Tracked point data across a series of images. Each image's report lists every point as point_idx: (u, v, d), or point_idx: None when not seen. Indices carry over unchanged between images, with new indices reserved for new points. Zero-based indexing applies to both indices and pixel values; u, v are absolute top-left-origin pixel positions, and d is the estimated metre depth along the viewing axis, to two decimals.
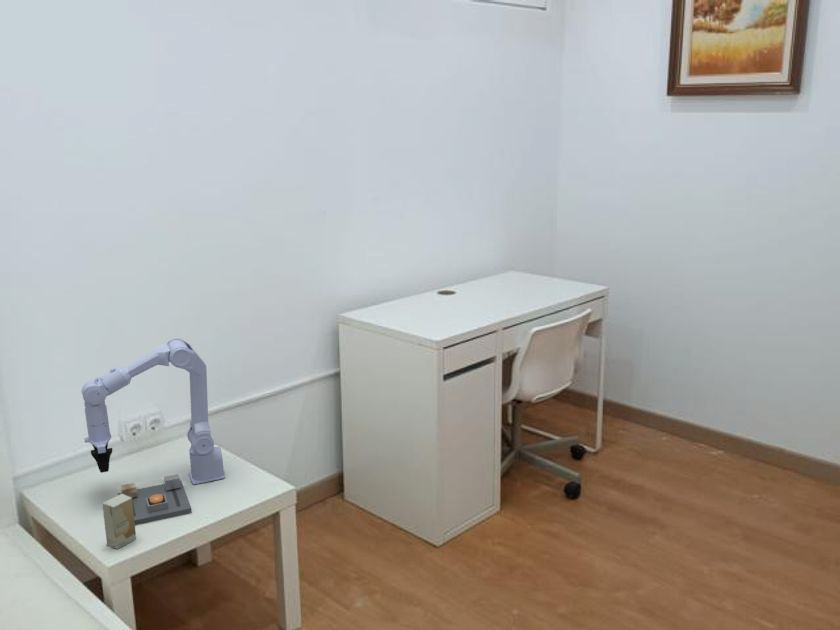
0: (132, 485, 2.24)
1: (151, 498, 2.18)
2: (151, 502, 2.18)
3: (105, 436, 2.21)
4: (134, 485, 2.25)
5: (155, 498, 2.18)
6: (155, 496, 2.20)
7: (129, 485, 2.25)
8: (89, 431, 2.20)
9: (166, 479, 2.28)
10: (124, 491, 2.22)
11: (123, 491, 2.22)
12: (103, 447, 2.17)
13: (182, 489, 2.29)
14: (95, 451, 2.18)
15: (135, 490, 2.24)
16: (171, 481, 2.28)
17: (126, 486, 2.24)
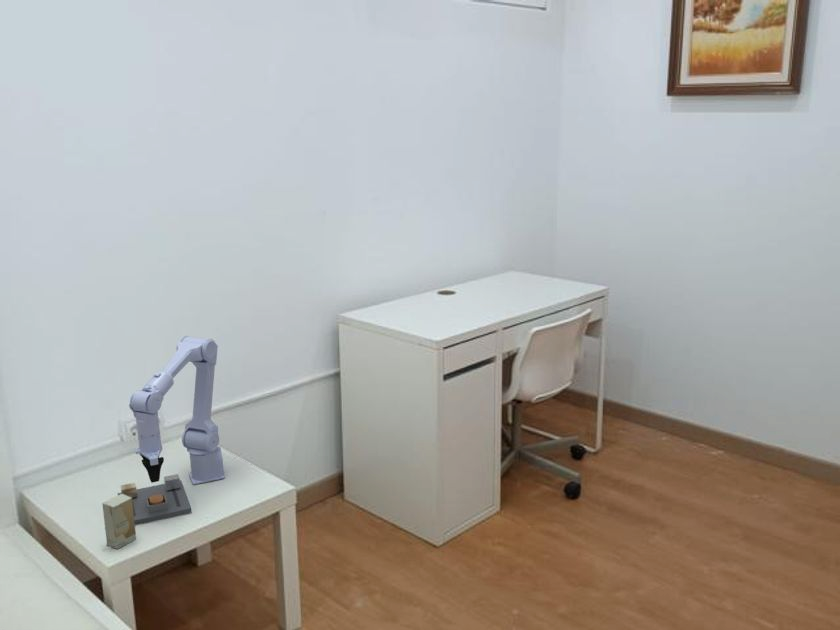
0: (132, 485, 2.24)
1: (151, 498, 2.18)
2: (151, 502, 2.18)
3: (157, 447, 2.13)
4: (134, 485, 2.25)
5: (155, 498, 2.18)
6: (155, 496, 2.20)
7: (129, 485, 2.25)
8: (140, 442, 2.12)
9: (166, 479, 2.28)
10: (124, 491, 2.22)
11: (123, 491, 2.22)
12: (156, 459, 2.09)
13: (182, 489, 2.29)
14: (146, 460, 2.12)
15: (135, 490, 2.24)
16: (171, 481, 2.28)
17: (126, 486, 2.24)
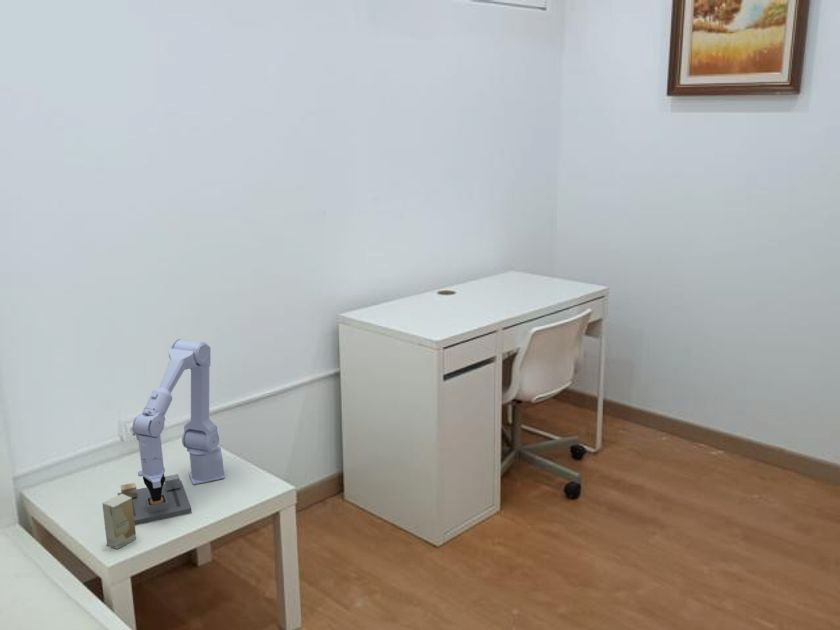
0: (132, 485, 2.24)
1: (151, 500, 2.19)
2: (151, 504, 2.18)
3: (160, 470, 2.15)
4: (134, 485, 2.25)
5: None
6: None
7: (129, 485, 2.25)
8: (143, 465, 2.14)
9: (166, 479, 2.28)
10: (124, 491, 2.22)
11: (123, 491, 2.22)
12: (158, 482, 2.11)
13: (182, 489, 2.29)
14: (148, 480, 2.15)
15: (135, 490, 2.24)
16: (171, 481, 2.28)
17: (126, 486, 2.24)
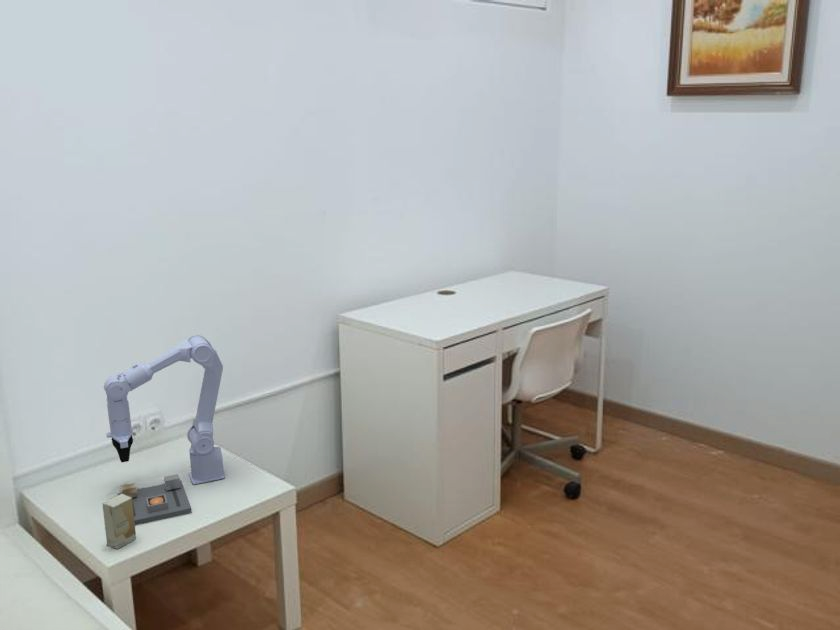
0: (132, 485, 2.24)
1: (151, 501, 2.19)
2: None
3: (127, 431, 2.23)
4: (134, 485, 2.25)
5: (155, 501, 2.19)
6: (155, 499, 2.20)
7: (129, 485, 2.25)
8: (111, 426, 2.22)
9: (166, 479, 2.28)
10: (124, 491, 2.22)
11: (123, 491, 2.22)
12: (126, 442, 2.19)
13: (182, 489, 2.29)
14: (116, 441, 2.24)
15: (135, 490, 2.24)
16: (171, 481, 2.28)
17: (126, 486, 2.24)
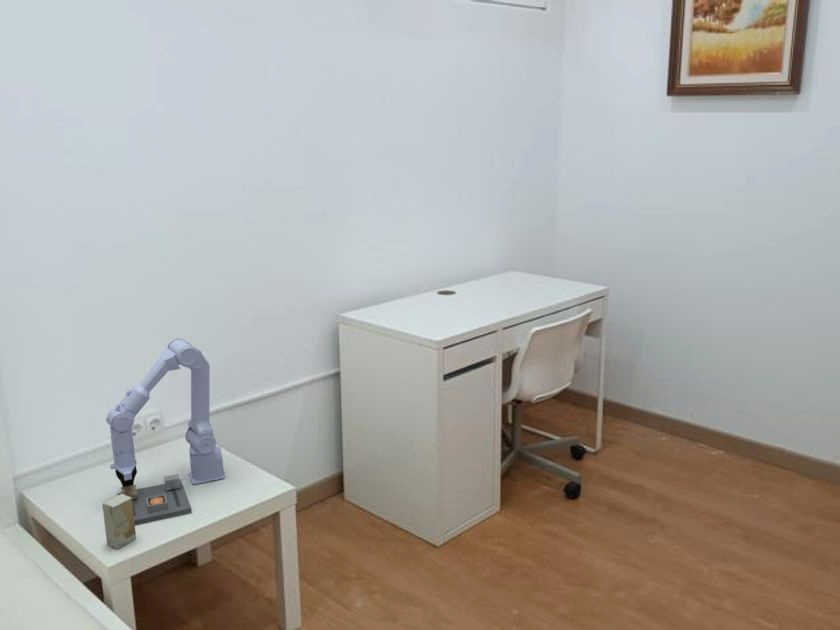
0: (133, 487, 2.23)
1: (151, 501, 2.19)
2: None
3: (131, 462, 2.22)
4: (134, 487, 2.23)
5: (155, 501, 2.19)
6: (155, 499, 2.20)
7: (129, 487, 2.23)
8: (115, 458, 2.21)
9: (166, 479, 2.28)
10: (125, 492, 2.21)
11: (123, 493, 2.21)
12: (129, 474, 2.18)
13: (182, 489, 2.29)
14: (120, 472, 2.22)
15: (136, 492, 2.23)
16: (171, 481, 2.28)
17: (127, 488, 2.23)
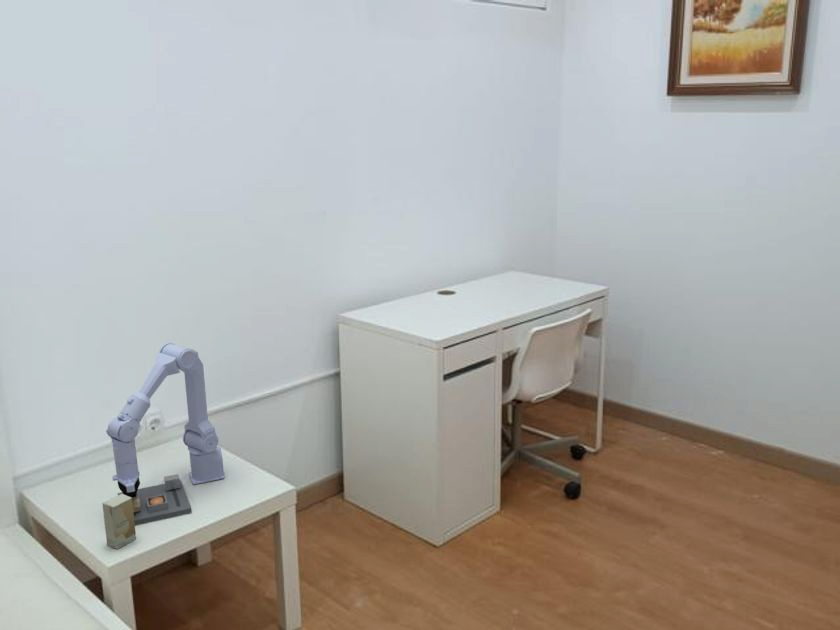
0: (135, 499, 2.17)
1: (151, 501, 2.19)
2: None
3: (134, 474, 2.15)
4: (137, 499, 2.17)
5: (155, 501, 2.19)
6: (155, 499, 2.20)
7: (132, 499, 2.17)
8: (117, 469, 2.14)
9: (166, 479, 2.28)
10: None
11: None
12: (132, 486, 2.11)
13: (182, 489, 2.29)
14: (122, 484, 2.16)
15: (139, 504, 2.16)
16: (171, 481, 2.28)
17: None
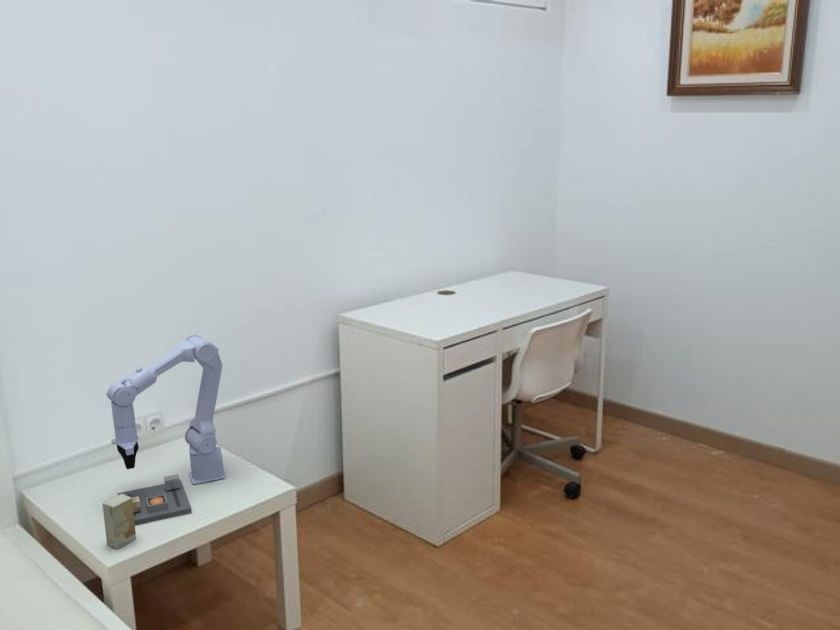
0: (135, 499, 2.17)
1: (151, 501, 2.19)
2: None
3: (133, 437, 2.20)
4: (137, 499, 2.17)
5: (155, 501, 2.19)
6: (155, 499, 2.20)
7: (132, 499, 2.17)
8: (116, 433, 2.18)
9: (166, 479, 2.28)
10: None
11: None
12: (131, 449, 2.15)
13: (182, 489, 2.29)
14: (122, 448, 2.20)
15: (139, 504, 2.16)
16: (171, 481, 2.28)
17: None
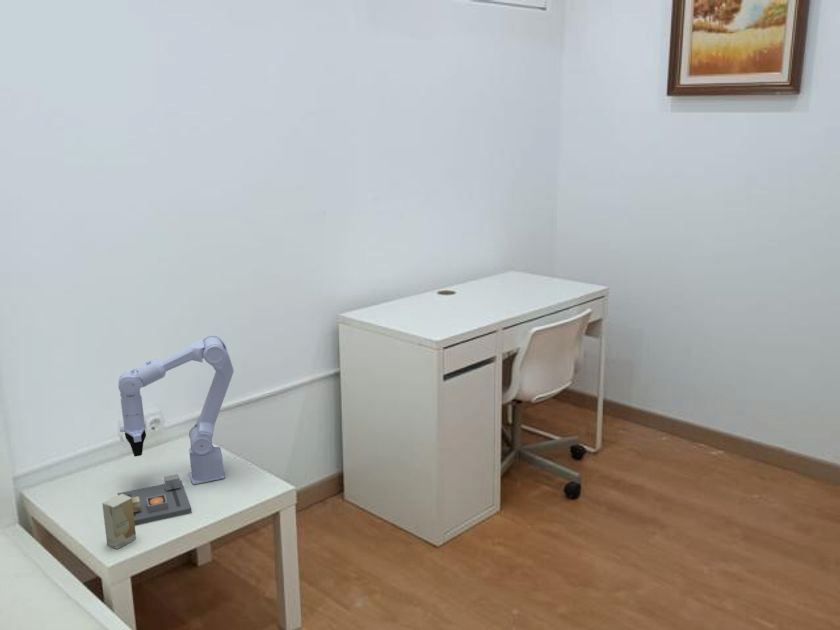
0: (135, 499, 2.17)
1: (151, 501, 2.19)
2: None
3: (141, 426, 2.27)
4: (137, 499, 2.17)
5: (155, 501, 2.19)
6: (155, 499, 2.20)
7: (132, 499, 2.17)
8: (125, 421, 2.26)
9: (166, 479, 2.28)
10: None
11: None
12: (139, 436, 2.23)
13: (182, 489, 2.29)
14: (130, 435, 2.27)
15: (139, 504, 2.16)
16: (171, 481, 2.28)
17: None
